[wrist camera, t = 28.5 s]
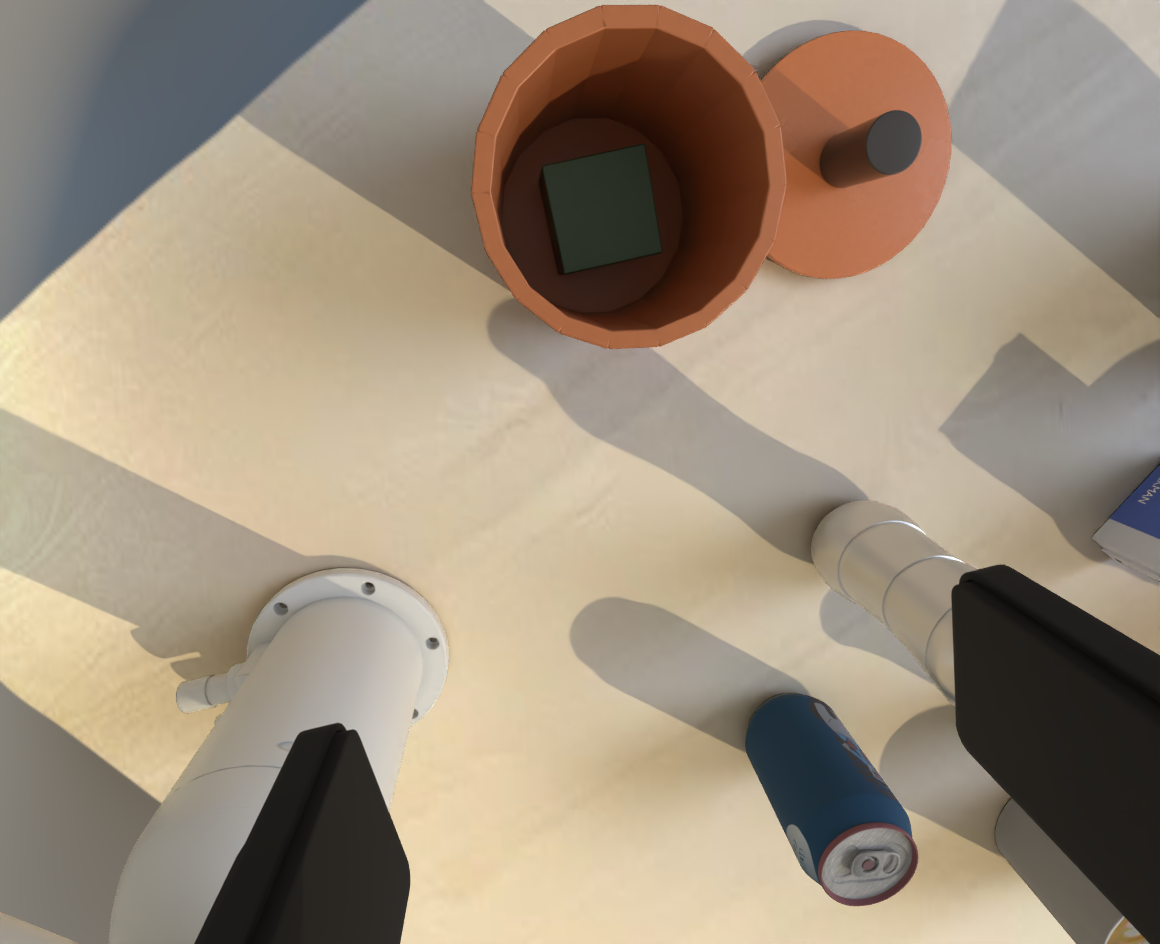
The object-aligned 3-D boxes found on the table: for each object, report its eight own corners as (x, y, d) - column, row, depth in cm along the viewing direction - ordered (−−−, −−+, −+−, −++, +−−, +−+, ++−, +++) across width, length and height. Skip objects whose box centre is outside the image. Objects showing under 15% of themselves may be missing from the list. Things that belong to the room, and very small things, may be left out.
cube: (558, 275, 36) (564, 274, 32) (538, 180, 35) (541, 165, 30) (644, 255, 36) (663, 252, 32) (628, 160, 35) (645, 142, 30)
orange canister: (517, 344, 38) (516, 379, 25) (465, 129, 34) (433, 40, 21) (705, 301, 38) (801, 314, 25) (673, 84, 34) (765, -31, 22)
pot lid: (741, 298, 38) (782, 303, 32) (711, 64, 34) (751, 20, 28) (942, 253, 38) (1019, 249, 33) (934, 16, 35) (1019, -37, 29)
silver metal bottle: (810, 487, 42) (1051, 661, 23) (906, 494, 43) (1217, 667, 24) (791, 577, 44) (1000, 806, 25) (884, 581, 45) (1156, 808, 26)
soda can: (733, 764, 48) (800, 916, 37) (746, 684, 46) (822, 819, 35) (821, 763, 49) (914, 912, 37) (838, 685, 47) (942, 817, 35)
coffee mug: (970, 834, 52) (1071, 959, 43) (1062, 750, 51) (1188, 860, 41) (1067, 901, 56) (1181, 1030, 46) (1156, 824, 54) (1293, 942, 44)
